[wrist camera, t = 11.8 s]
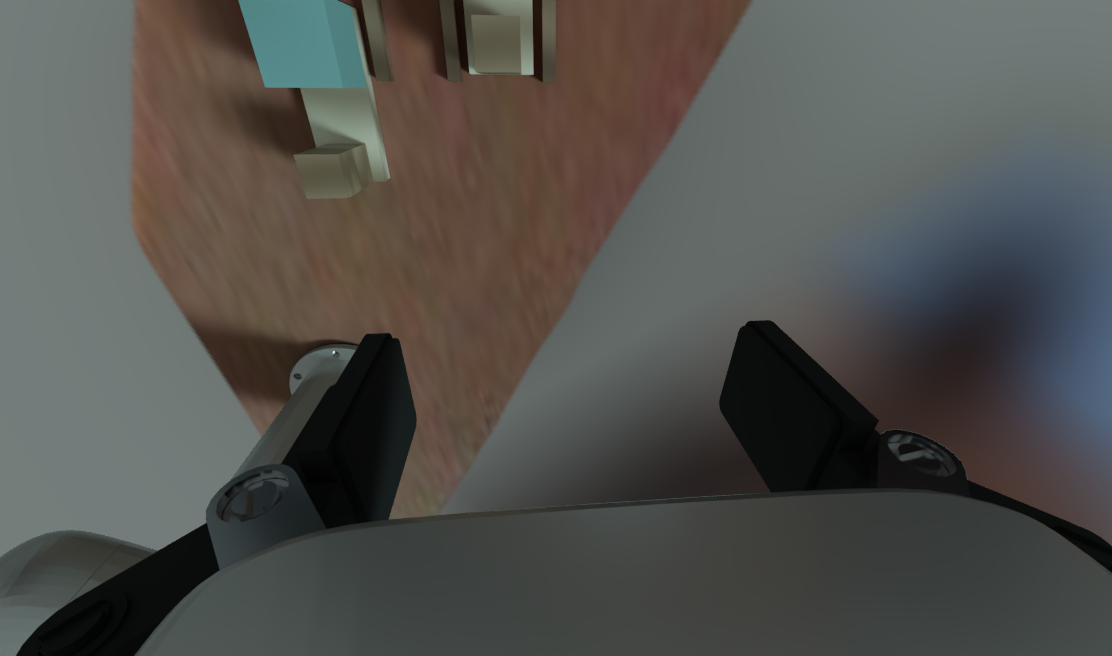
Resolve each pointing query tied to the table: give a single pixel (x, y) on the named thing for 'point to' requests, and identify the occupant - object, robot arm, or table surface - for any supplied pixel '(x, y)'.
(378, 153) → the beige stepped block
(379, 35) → the walnut lane rails
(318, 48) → the teal block
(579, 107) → the table surface
